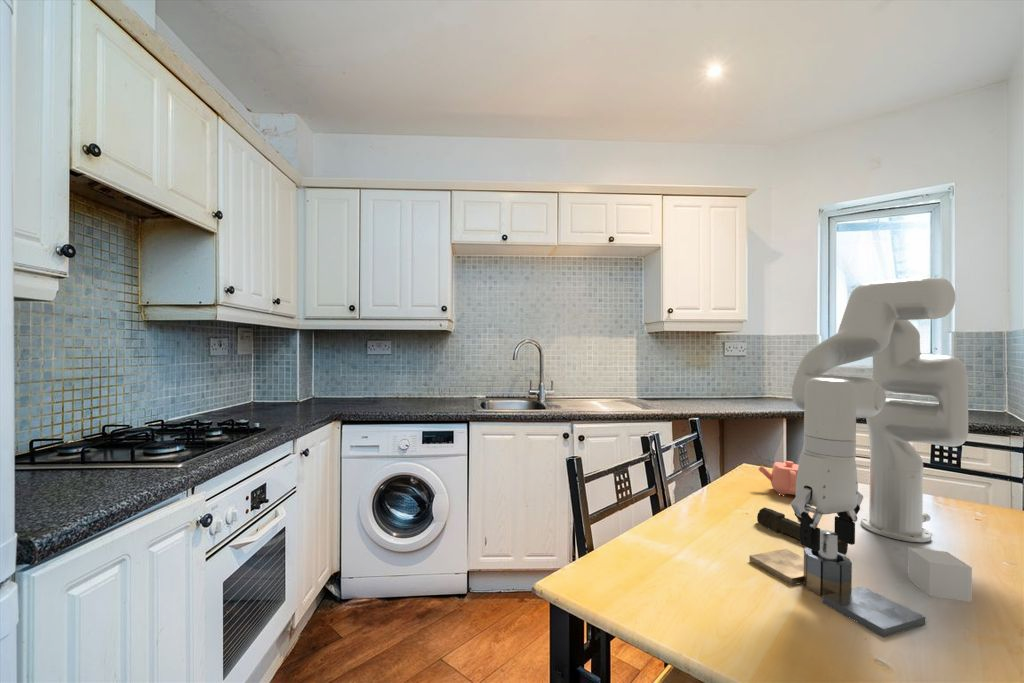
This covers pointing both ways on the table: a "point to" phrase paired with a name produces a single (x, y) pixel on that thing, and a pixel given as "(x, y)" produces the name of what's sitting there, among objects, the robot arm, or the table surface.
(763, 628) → the table surface
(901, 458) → the robot arm
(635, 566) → the table surface
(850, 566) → the hinge
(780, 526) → the hand tool
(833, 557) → the hinge pin
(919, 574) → the light grey cube
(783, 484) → the teapot
